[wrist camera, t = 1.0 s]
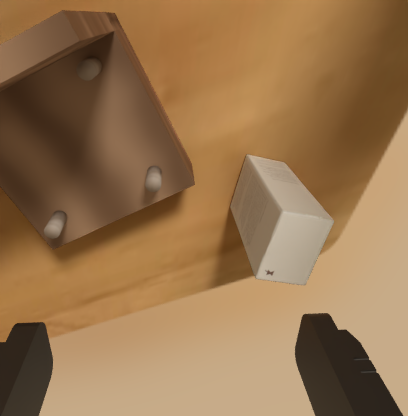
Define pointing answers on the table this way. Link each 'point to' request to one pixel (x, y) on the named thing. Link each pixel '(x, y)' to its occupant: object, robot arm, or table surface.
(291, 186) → the skincare box
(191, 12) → the table surface
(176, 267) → the table surface
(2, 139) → the peg shelf stand
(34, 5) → the table surface
